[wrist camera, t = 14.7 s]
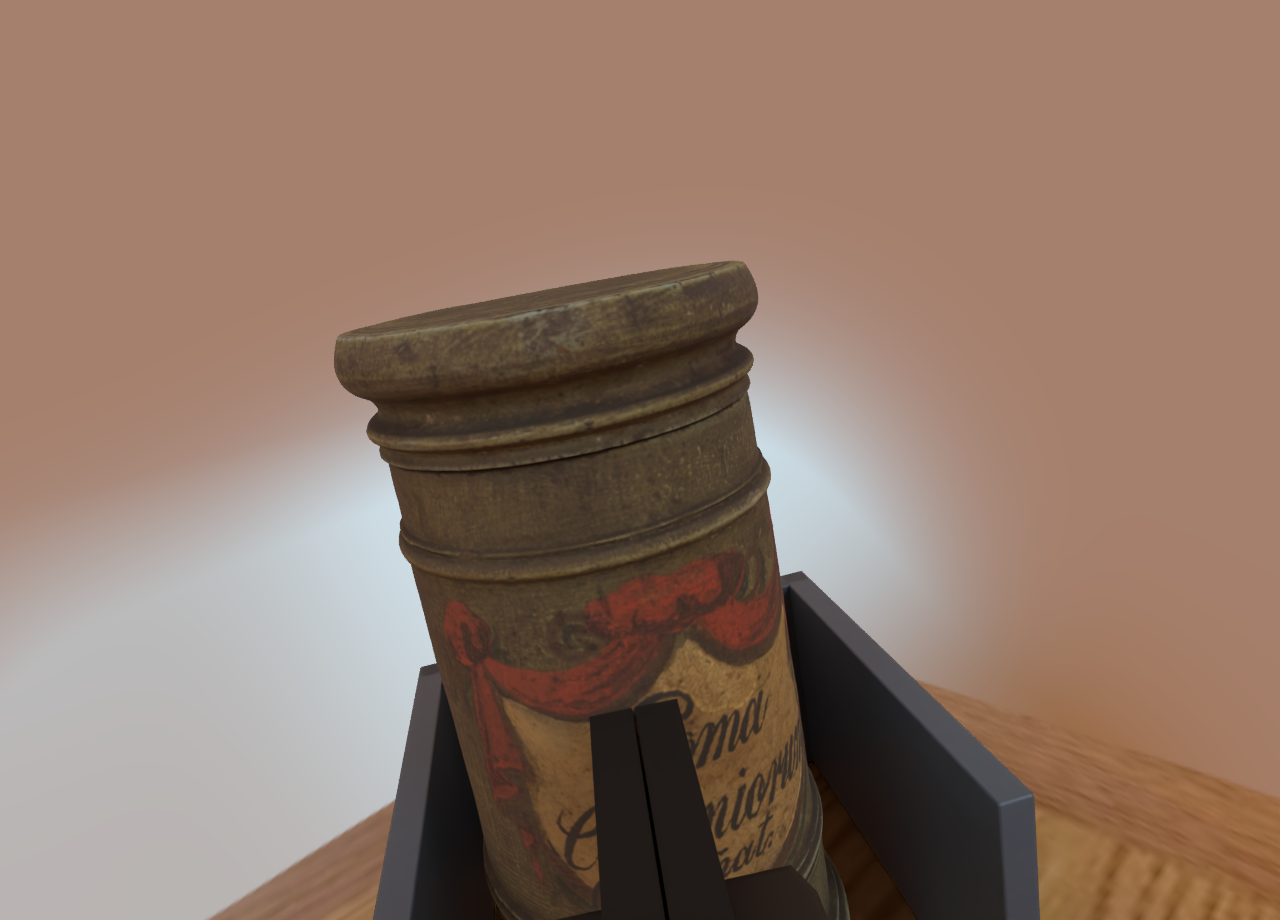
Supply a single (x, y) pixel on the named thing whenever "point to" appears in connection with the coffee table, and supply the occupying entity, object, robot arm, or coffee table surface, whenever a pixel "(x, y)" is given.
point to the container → (596, 562)
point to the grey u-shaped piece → (834, 739)
